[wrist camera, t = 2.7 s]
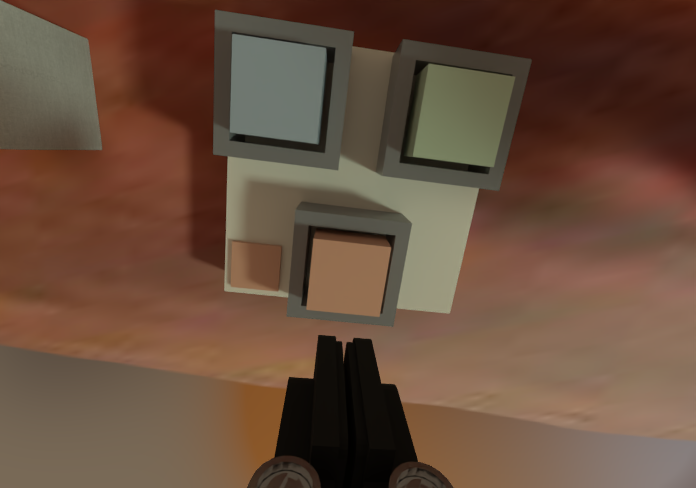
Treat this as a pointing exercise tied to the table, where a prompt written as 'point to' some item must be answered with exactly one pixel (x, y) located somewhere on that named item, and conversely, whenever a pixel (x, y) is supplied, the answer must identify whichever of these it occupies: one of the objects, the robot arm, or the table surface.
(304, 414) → the robot arm
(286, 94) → the slate button
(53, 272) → the table surface
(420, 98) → the sage button
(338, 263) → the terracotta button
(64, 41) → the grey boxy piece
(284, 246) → the button panel
